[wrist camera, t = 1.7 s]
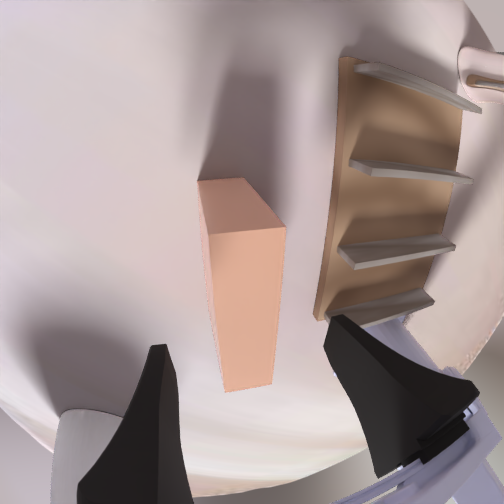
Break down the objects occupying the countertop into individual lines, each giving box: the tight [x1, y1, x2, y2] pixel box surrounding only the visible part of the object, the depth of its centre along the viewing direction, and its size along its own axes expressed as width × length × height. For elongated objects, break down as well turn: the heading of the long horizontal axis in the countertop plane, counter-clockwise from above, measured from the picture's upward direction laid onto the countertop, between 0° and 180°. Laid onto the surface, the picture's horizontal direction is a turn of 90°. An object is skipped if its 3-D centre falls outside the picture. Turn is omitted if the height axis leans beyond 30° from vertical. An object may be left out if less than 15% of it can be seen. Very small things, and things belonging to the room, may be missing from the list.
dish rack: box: [313, 56, 482, 329], centre depth 18 cm, size 20×13×4 cm, turn 179°
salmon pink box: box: [197, 177, 286, 393], centre depth 15 cm, size 10×3×8 cm, turn 178°
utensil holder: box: [51, 409, 123, 504], centre depth 20 cm, size 15×15×18 cm
